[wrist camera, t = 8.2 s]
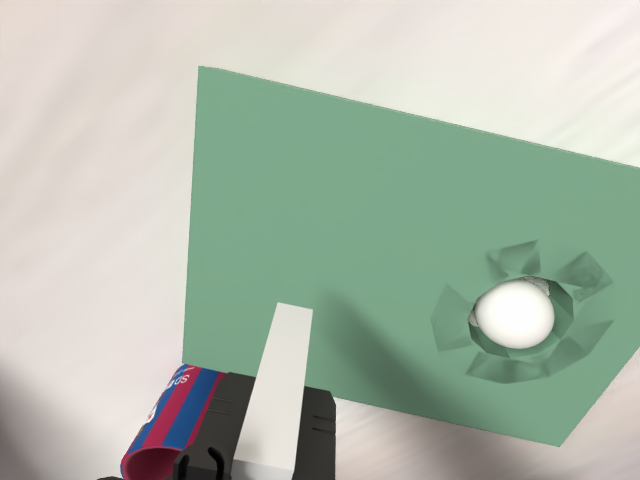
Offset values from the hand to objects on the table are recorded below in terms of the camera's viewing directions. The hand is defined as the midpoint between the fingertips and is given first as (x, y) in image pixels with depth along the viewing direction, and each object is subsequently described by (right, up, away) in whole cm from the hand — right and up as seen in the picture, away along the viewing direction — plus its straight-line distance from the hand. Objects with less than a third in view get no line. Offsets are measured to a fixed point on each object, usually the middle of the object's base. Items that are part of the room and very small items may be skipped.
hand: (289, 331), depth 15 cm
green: (+7, +2, +7) cm, 10 cm away
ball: (+12, +1, +7) cm, 14 cm away
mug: (-6, -9, +13) cm, 17 cm away
